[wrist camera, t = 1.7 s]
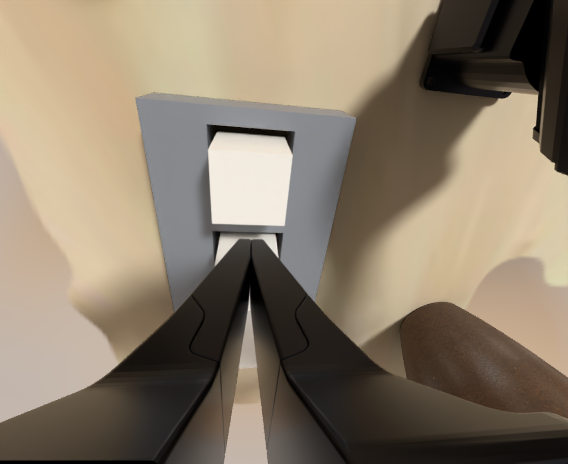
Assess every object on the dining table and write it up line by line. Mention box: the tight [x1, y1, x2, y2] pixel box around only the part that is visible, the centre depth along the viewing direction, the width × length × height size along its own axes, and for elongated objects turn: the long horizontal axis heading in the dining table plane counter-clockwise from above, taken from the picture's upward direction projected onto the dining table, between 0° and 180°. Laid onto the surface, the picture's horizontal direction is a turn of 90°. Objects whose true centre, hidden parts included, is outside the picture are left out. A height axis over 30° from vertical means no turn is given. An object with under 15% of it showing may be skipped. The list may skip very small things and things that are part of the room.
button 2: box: [208, 131, 293, 226], centre depth 15 cm, size 4×4×4 cm
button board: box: [135, 93, 357, 312], centre depth 21 cm, size 12×21×3 cm, turn 174°
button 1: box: [239, 311, 257, 368], centre depth 23 cm, size 4×4×4 cm
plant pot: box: [400, 302, 568, 419], centre depth 25 cm, size 15×15×16 cm
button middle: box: [214, 231, 279, 311], centre depth 19 cm, size 4×4×4 cm
